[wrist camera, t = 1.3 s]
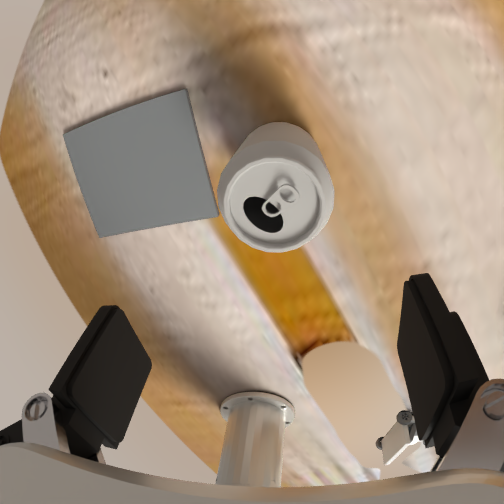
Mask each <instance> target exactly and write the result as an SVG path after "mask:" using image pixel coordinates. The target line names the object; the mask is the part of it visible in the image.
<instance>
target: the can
mask: <svg viewBox="0 0 504 504" xmlns="http://www.w3.org/2000/svg"><path fill="white" fill-rule="evenodd" d="M217 194H218V205H219V209H220V211H221V213H222V216H223V218H224V220H225V222H226V224H227V225H228V226H229V228H230V229H231V230H232V231H233V232H234V234H235V235H236V236H237V237H238V238H239V239H240V240H241V241H243V242H245V243H246V244H248V245H249V246H251V247H252V248H256V249H259V250H262V251H266V252H286V251H289V250H293V249H297V248H299V247H301V246H302V245H304V244H306V243H307V242H309V241H310V240H311V239H312V238H314V237H315V236H316V235H317V234H318V233H319V232H320V231H321V230H322V229H323V227H324V226H325V225H326V224H327V222H328V220H329V217H330V215H331V212H332V210H333V206H334V188H333V184H332V181H331V177H330V174H329V171H328V169H327V167H326V164H325V162H324V159H323V157H322V155H321V152H320V150H319V148H318V146H317V144H316V142H315V141H314V140H313V138H312V137H311V136H310V134H309V133H307V132H306V131H305V130H303V129H302V128H300V127H299V126H296V125H293V124H290V123H287V122H271V123H268V124H265V125H262V126H259V127H258V128H257V129H255V130H254V131H253V132H251V133H250V134H249V135H248V136H247V138H246V139H245V140H244V142H243V143H242V144H241V146H240V147H239V148H238V150H237V151H236V152H235V154H234V155H233V157H232V158H231V159H230V161H229V162H228V164H227V165H226V167H225V169H224V170H223V172H222V173H221V177H220V181H219V185H218V189H217Z"/></svg>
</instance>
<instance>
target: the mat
mask: <svg viewBox="0 0 504 504" xmlns="http://www.w3.org/2000/svg"><path fill="white" fill-rule="evenodd" d="M63 137H64V140H65V144H66V147H67V150H68V153H69V156H70V160H71V163H72V166H73V169H74V172H75V175H76V178H77V180H78V183H79V186H80V189H81V192H82V194H83V197H84V200H85V203H86V205H87V208H88V210H89V213H90V216H91V218H92V221H93V223H94V226H95V228H96V231H97V233H98V235H99V238H102V237H107V236H112V235H117V234H122V233H128V232H133V231H138V230H144V229H149V228H155V227H160V226H166V225H172V224H177V223H183V222H189V221H195V220H201V219H207V218H213V217H218V216H219V211H218V207H217V204H216V200H215V196H214V192H213V189H212V185H211V181H210V177H209V173H208V170H207V166H206V162H205V158H204V154H203V150H202V146H201V143H200V139H199V135H198V131H197V127H196V123H195V119H194V115H193V111H192V107H191V103H190V99H189V95H188V91H187V89H183V90H180V91H177V92H173V93H170V94H167V95H164V96H160V97H157V98H154V99H151V100H148V101H145V102H142V103H139V104H136V105H134V106H131V107H128V108H125V109H123V110H120V111H117V112H115V113H112V114H110V115H107V116H105V117H102V118H100V119H97V120H95V121H92V122H90V123H88V124H85V125H83V126H81V127H78V128H76V129H74V130H72V131H70V132H67V133H65V134H63Z"/></svg>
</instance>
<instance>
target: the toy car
mask: <svg viewBox="0 0 504 504" xmlns="http://www.w3.org/2000/svg"><path fill="white" fill-rule="evenodd" d="M380 441H381V442H380ZM422 441H423V444H424V445H425V442H424V440H422ZM416 442H421V441H420V440H419V439H418V435H417V430H416V425H415V420H414V416H412V414H411V413H410V412H408V411H407V410H402V411H400V412H399V413H398V415H397V422H396V424H395V425H394V426H393V427H392V428H391V430H390V431H389V432H388V433H387V434H386V436H385V437H380V438H379V439H378V440H377V441H376V446H377V448H378V449H380V450H382V451H383V460H384V465H389V464H390V463H391V462H392V461H393V460H394V459H395V458H396V457H397V456H398V455H399V454H400V453H401V452H402V451H403V450H404V449H406V447H407V446H408V445H411V444H415V443H416Z"/></svg>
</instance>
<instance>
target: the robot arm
mask: <svg viewBox="0 0 504 504" xmlns="http://www.w3.org/2000/svg"><path fill="white" fill-rule="evenodd" d="M397 349H398V355H399V358H400V362H401V366H402V369H403V373H404V377H405V381H406V385H407V389H408V393H409V398H410V402H411V406H412V411H413V416H414V420H415V425H416V430H417V435H418V439H419V440H420V441H422V440H424V442H425V447H426V448H429V447H433V446H435V450H436V454H437V455H439V457H438V459H437V460H436V462H435V464H434V465H433V467H432V469H431V470H430V472H426V473H420V474H414V475H409V476H401V477H395V478H390V479H383V480H376V481H369V482H361V483H351V484H340V485H329V486H313V487H281V476H282V462H283V448H284V433H285V428H286V427H288V426H289V425H290V424H291V423H292V422H293V421H294V418H295V410H294V408H293V406H292V405H291V404H290V403H289V402H288V401H286V400H285V399H283V398H281V397H279V396H276V395H273V394H269V393H264V392H241V393H237V394H234V395H231V396H229V397H227V398H226V399H225V400H224V401H223V402H222V404H221V409H220V412H221V415H222V417H223V418H224V419H225V420H226V421H227V427H226V432H225V438H224V443H223V448H222V453H221V458H220V464H219V469H218V474H217V479H216V484H207V483H198V482H191V481H183V480H177V479H170V478H165V477H159V476H153V475H149V474H144V473H139V472H134V471H130V470H126V469H122V468H118V467H113V466H110V465H106V463H105V460H104V457H103V454H102V451H101V448H100V447H101V444H103V445H104V446H105V447H110V448H113V449H117V447H118V445H119V443H120V442H121V441H122V440H123V439H124V436H125V433H126V431H127V428H128V425H129V423H130V420H131V418H132V415H133V413H134V410H135V407H136V405H137V403H138V400H139V398H140V395H141V393H142V390H143V388H144V385H145V383H146V380H147V378H148V375H149V373H150V370H151V367H152V363H151V359H150V358H149V356H148V354H147V353H146V351H145V349H144V347H143V346H142V344H141V342H140V341H139V339H138V337H137V335H136V334H135V332H134V330H133V328H132V326H131V325H130V323H129V321H128V319H127V317H126V315H125V313H124V312H123V310H121V309H120V308H119V307H118V306H116V305H110V306H102V307H101V308H100V309H99V310H98V312H97V313H96V315H95V316H94V317H93V319H92V320H91V322H90V323H89V325H88V327H87V328H86V330H85V331H84V333H83V334H82V336H81V337H80V339H79V340H78V342H77V343H76V345H75V347H74V348H73V350H72V351H71V353H70V355H69V356H68V358H67V360H66V361H65V363H64V364H63V366H62V368H61V369H60V371H59V373H58V374H57V376H56V378H55V379H54V381H53V383H52V384H51V386H50V388H49V390H50V392H51V393H52V394H53V397H52V398H51V397H50V396H49V395H48V394H46V393H38V394H35V395H34V396H32V397H31V398H30V399H29V400H28V401H27V402H26V404H25V405H24V407H23V410H22V419H21V420H19V421H18V422H16V423H14V424H12V425H10V426H8V427H7V428H5V429H3V430H1V431H0V504H504V379H492V380H490V381H489V379H488V376H487V374H486V372H485V369H484V367H483V365H482V362H481V360H480V358H479V356H478V354H477V351H476V349H475V347H474V345H473V343H472V341H471V339H470V337H469V335H468V333H467V331H466V329H465V327H464V325H463V323H462V321H461V319H460V317H459V315H458V314H457V313H456V312H449V310H448V308H447V306H446V304H445V302H444V300H443V298H442V296H441V295H440V293H439V291H438V289H437V287H436V285H435V284H434V282H433V280H432V278H431V276H430V275H429V274H428V273H424V274H418V275H411V276H410V278H409V281H405V282H404V289H403V300H402V309H401V318H400V326H399V334H398V341H397Z"/></svg>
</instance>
